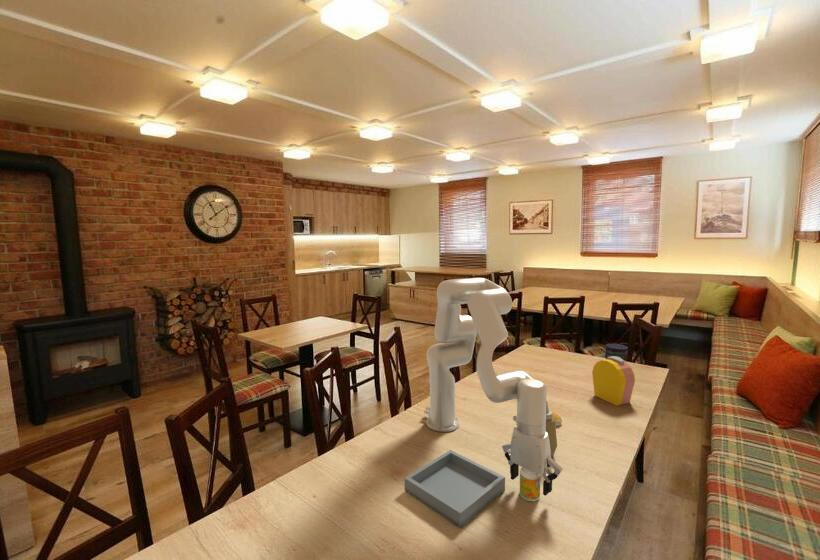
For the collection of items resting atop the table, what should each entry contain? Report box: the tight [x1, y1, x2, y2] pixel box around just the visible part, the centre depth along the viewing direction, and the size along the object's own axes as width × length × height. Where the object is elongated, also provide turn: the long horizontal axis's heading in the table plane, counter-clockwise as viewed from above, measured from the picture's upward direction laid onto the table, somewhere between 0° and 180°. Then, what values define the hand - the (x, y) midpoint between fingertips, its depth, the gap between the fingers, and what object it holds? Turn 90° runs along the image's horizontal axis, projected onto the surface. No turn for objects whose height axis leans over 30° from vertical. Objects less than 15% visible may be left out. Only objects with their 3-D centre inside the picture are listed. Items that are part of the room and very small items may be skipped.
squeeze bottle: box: [546, 400, 558, 458], centre depth 127 cm, size 8×8×18 cm
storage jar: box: [604, 342, 628, 362], centre depth 195 cm, size 10×10×15 cm
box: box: [404, 449, 506, 529], centre depth 110 cm, size 20×20×4 cm
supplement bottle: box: [519, 467, 541, 502], centre depth 107 cm, size 5×5×10 cm
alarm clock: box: [592, 356, 636, 406], centre depth 167 cm, size 15×8×18 cm, turn 22°
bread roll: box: [549, 409, 563, 427], centre depth 149 cm, size 8×9×4 cm
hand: (530, 484), depth 107 cm, fingers open, 9 cm apart
